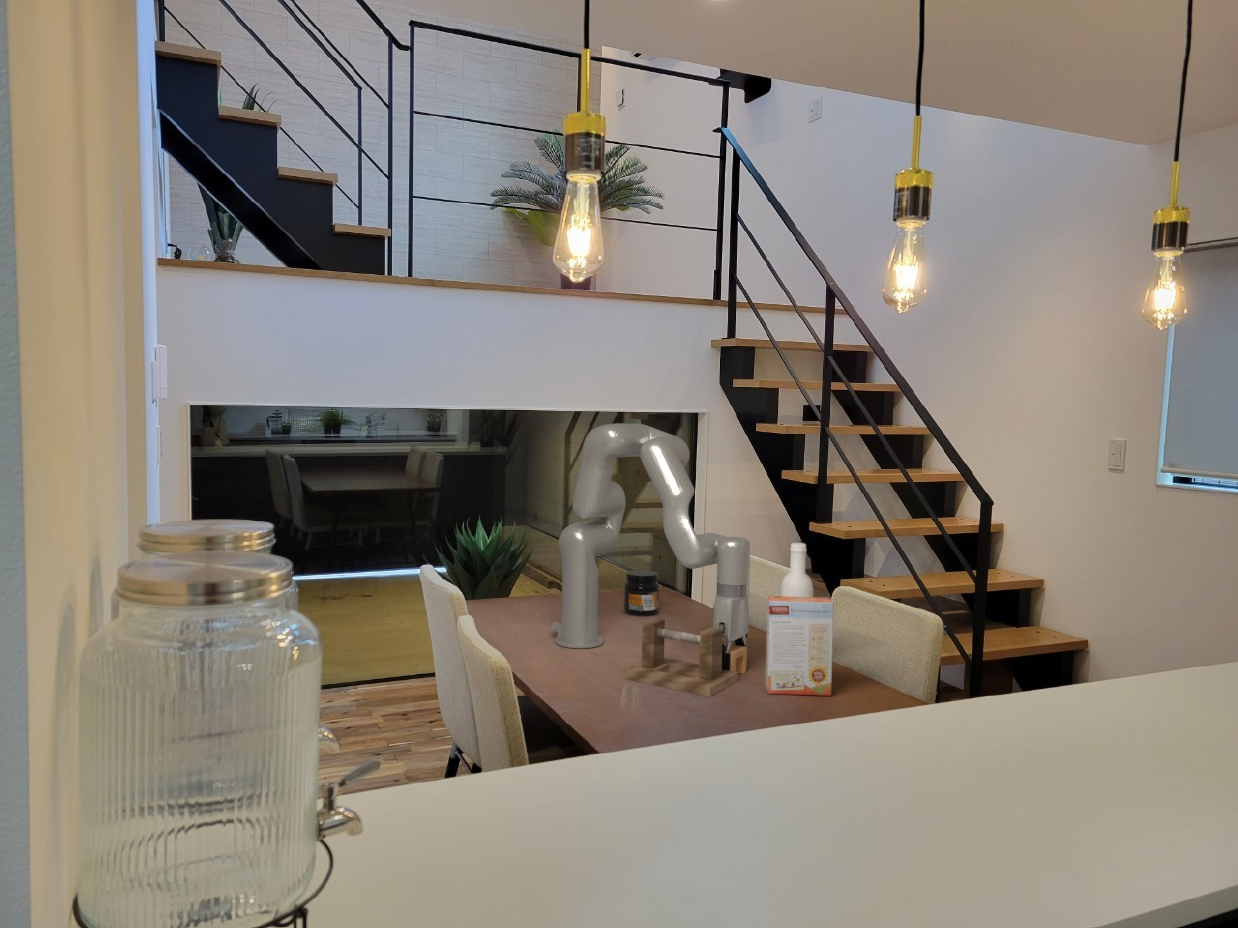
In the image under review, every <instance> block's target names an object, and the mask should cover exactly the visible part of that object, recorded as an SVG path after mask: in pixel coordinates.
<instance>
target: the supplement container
mask: <svg viewBox="0 0 1238 928" xmlns="http://www.w3.org/2000/svg"><path fill="white" fill-rule="evenodd" d="M658 574H659V573H658V572H656V571H651V570H643V569H642V570H640V569H639V570H630V571H627V572H626V573H625V580H626V581H625V583H624V584H623V587H624V593H623V594H624V595H623V596H624V598H623V604H624V605H623V610H624V612H625V614H628V615H630V616H638V617H649V616H653V615H656V614H657V613H658V612H659V609H660V608H659V601H660V599H659V596H660V595H659V593H660V584H659V583H658V581H659V575H658Z"/></svg>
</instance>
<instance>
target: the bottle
mask: <svg viewBox="0 0 1238 928" xmlns="http://www.w3.org/2000/svg"><path fill="white" fill-rule="evenodd" d="M789 550H790V563H789V565H790V567H789V572H788V573H787V574H785V576H784V577H782V582H781V584H780V596H787V597H814V585H813V581H812V578H811V577H810V575H808V574H807V573H806V560H807V559H806V558H807V557H806V556H807V544H806V543H804V542H792V543H791V544H790V548H789Z"/></svg>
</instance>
